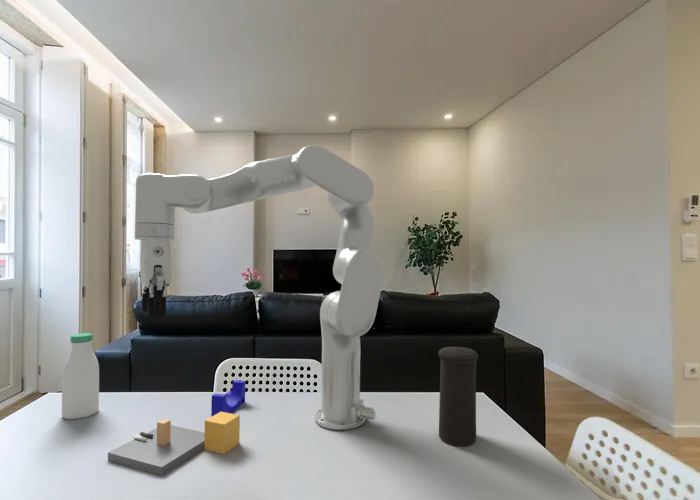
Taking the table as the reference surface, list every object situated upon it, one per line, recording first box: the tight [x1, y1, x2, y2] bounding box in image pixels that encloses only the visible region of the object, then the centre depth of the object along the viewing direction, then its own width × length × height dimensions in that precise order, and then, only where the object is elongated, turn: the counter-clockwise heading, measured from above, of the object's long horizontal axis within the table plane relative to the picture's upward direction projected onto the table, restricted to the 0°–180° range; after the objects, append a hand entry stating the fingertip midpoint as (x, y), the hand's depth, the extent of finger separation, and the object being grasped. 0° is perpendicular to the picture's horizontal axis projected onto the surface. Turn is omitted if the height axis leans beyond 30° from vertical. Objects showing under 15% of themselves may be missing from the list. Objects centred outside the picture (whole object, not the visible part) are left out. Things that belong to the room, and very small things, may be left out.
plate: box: [107, 418, 205, 476], centre depth 81 cm, size 14×14×6 cm
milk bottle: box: [61, 332, 100, 420], centre depth 99 cm, size 8×8×20 cm
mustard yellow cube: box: [203, 412, 241, 455], centre depth 83 cm, size 5×5×6 cm
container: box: [438, 346, 479, 447], centre depth 88 cm, size 9×9×20 cm
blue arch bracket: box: [210, 379, 246, 417], centre depth 102 cm, size 12×4×6 cm, turn 169°
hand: (153, 314), depth 82 cm, fingers open, 9 cm apart
